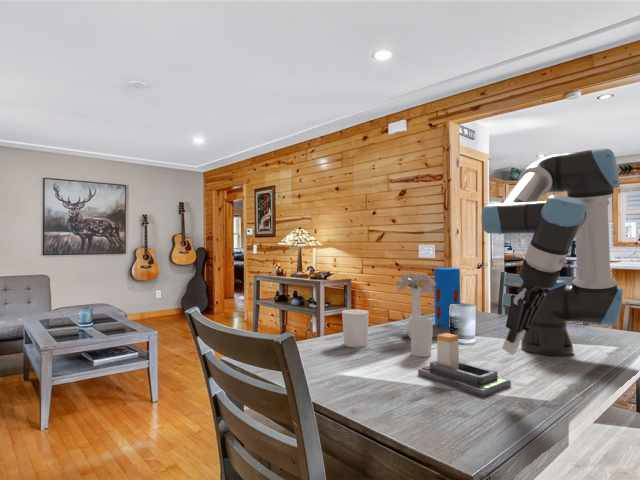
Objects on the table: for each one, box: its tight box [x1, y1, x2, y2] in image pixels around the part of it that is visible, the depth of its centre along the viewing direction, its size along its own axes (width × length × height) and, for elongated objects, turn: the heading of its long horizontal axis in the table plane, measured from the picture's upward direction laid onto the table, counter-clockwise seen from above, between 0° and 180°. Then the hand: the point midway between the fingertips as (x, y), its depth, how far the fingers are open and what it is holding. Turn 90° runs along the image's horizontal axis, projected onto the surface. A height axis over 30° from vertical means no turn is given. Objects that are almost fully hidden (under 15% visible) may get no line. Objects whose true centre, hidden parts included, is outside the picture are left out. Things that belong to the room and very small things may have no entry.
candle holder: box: [341, 308, 370, 349], centre depth 146 cm, size 10×10×12 cm
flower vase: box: [395, 272, 436, 339], centre depth 158 cm, size 13×18×25 cm
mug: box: [409, 315, 434, 358], centre depth 134 cm, size 10×7×12 cm, turn 131°
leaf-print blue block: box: [433, 267, 461, 329], centre depth 178 cm, size 11×11×25 cm
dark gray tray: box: [417, 360, 512, 398], centre depth 108 cm, size 20×12×4 cm, turn 35°
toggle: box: [436, 332, 460, 369], centre depth 112 cm, size 4×4×9 cm
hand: (508, 350), depth 99 cm, fingers closed
